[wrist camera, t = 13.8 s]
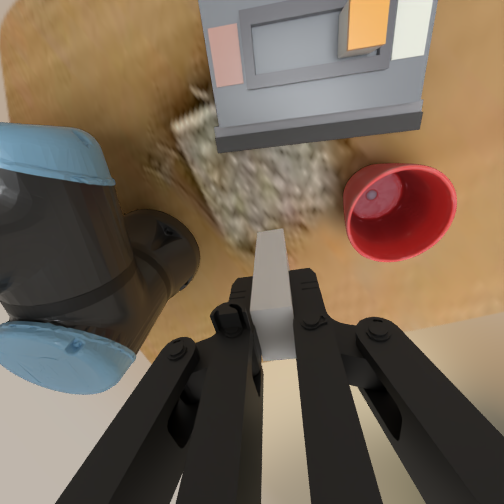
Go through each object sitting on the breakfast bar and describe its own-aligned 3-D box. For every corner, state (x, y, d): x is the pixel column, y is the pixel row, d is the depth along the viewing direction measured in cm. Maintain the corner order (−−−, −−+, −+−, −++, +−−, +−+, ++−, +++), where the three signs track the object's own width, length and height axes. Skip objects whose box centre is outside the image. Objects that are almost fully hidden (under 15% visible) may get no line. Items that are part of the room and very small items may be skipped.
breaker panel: (224, 126, 33) (217, 128, 29) (202, -12, 26) (190, -30, 23) (408, 101, 29) (424, 101, 26) (433, -62, 23) (459, -92, 20)
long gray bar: (220, 151, 34) (217, 153, 33) (216, 126, 33) (213, 127, 31) (412, 128, 31) (419, 129, 29) (417, 99, 29) (425, 99, 28)
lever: (337, 58, 26) (348, 50, 22) (339, 14, 24) (350, -4, 20) (368, 54, 25) (385, 43, 21) (372, 8, 24) (391, -12, 20)
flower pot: (315, 203, 37) (325, 232, 28) (372, 133, 31) (405, 142, 23) (370, 241, 39) (395, 278, 30) (432, 180, 33) (483, 205, 25)
